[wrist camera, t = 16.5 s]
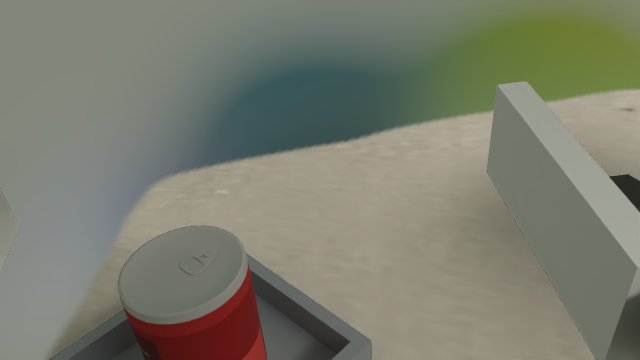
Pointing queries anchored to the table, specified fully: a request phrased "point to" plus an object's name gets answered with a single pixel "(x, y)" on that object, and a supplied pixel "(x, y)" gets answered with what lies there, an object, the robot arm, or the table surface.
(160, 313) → the canned food
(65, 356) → the tray
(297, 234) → the table surface
